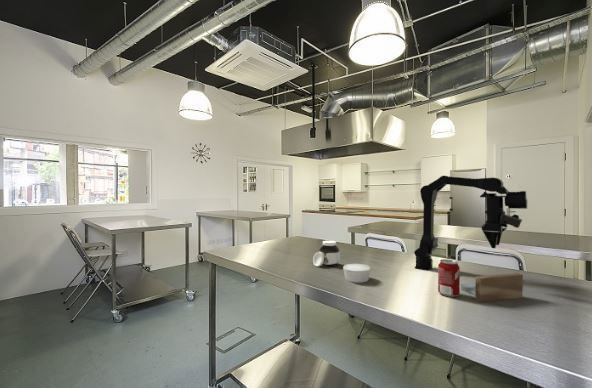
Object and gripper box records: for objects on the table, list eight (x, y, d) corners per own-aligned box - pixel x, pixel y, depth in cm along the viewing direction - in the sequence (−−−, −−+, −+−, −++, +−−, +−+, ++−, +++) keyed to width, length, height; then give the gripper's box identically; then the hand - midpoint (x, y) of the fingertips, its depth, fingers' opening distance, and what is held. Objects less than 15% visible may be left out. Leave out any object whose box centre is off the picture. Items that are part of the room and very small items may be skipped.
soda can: (451, 299, 93) (452, 264, 93) (433, 292, 99) (434, 260, 99) (463, 296, 96) (464, 262, 96) (445, 289, 102) (445, 258, 102)
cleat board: (453, 290, 102) (453, 268, 102) (491, 286, 106) (492, 265, 106) (480, 302, 91) (480, 278, 91) (522, 297, 95) (522, 274, 95)
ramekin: (338, 279, 114) (338, 267, 114) (352, 273, 122) (352, 262, 122) (362, 286, 107) (362, 272, 107) (375, 279, 115) (375, 266, 115)
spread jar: (341, 264, 137) (341, 241, 137) (332, 270, 128) (332, 245, 128) (320, 261, 144) (320, 239, 144) (310, 266, 134) (310, 242, 134)
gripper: (517, 209, 99) (518, 252, 99) (522, 207, 112) (523, 245, 112) (480, 209, 107) (481, 249, 107) (489, 207, 120) (490, 242, 120)
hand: (495, 246), depth 111 cm, fingers open, 9 cm apart
